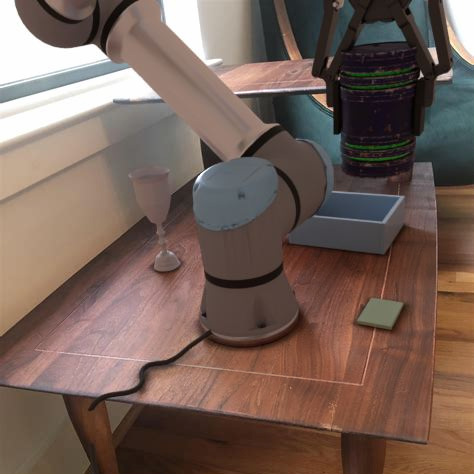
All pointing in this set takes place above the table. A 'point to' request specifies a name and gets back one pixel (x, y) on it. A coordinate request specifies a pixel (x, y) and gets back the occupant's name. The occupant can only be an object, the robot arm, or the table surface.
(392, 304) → the coaster
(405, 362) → the table surface
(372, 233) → the open box
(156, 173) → the chalice
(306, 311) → the table surface
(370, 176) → the dark striped canister
